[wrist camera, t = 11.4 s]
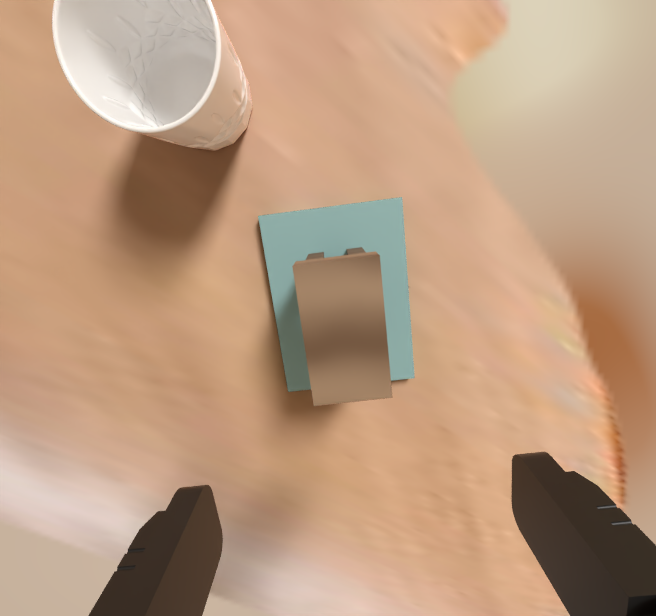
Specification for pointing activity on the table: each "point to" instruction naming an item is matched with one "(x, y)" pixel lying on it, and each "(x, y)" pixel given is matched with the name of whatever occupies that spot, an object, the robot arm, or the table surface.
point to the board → (334, 239)
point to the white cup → (155, 68)
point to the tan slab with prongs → (344, 326)
